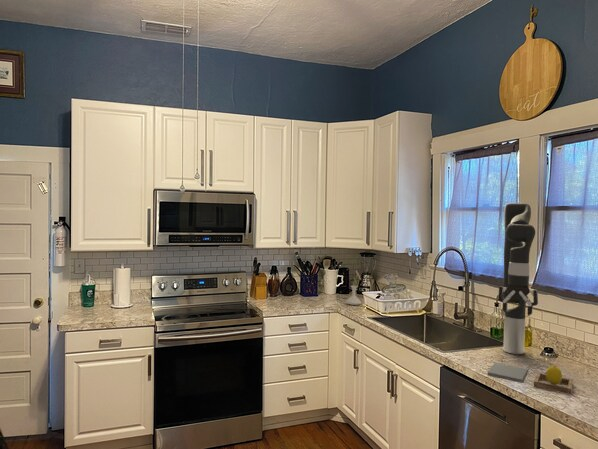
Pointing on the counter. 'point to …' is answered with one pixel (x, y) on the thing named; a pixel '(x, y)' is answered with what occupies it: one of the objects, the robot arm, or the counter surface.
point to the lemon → (553, 375)
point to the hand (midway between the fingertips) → (517, 313)
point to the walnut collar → (552, 386)
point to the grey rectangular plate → (508, 372)
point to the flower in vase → (353, 299)
